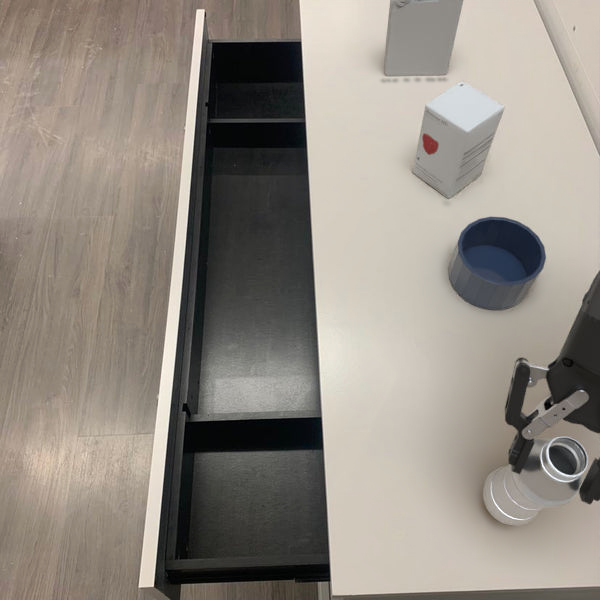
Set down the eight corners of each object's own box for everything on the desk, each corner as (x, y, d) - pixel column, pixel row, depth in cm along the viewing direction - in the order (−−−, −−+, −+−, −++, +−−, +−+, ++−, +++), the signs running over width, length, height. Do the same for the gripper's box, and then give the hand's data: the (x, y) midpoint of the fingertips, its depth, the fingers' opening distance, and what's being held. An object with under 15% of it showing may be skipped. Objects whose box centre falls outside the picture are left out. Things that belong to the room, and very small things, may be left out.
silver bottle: (541, 488, 65) (614, 440, 48) (522, 540, 62) (594, 509, 45) (490, 462, 67) (543, 407, 50) (470, 511, 64) (519, 470, 47)
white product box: (410, 172, 95) (423, 103, 83) (444, 148, 98) (461, 77, 85) (448, 200, 92) (468, 132, 79) (482, 175, 94) (507, 105, 82)
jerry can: (372, 77, 110) (383, -54, 89) (371, 62, 113) (382, -69, 91) (447, 76, 109) (476, -57, 88) (444, 61, 112) (472, -72, 90)
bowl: (547, 287, 82) (564, 260, 76) (483, 323, 79) (496, 299, 73) (493, 233, 88) (505, 205, 82) (432, 265, 85) (440, 238, 79)
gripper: (545, 300, 43) (472, 470, 48) (742, 365, 40) (641, 543, 44) (538, 285, 50) (475, 435, 55) (705, 340, 47) (621, 496, 51)
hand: (549, 483), depth 50 cm, fingers closed on silver bottle, 5 cm apart
